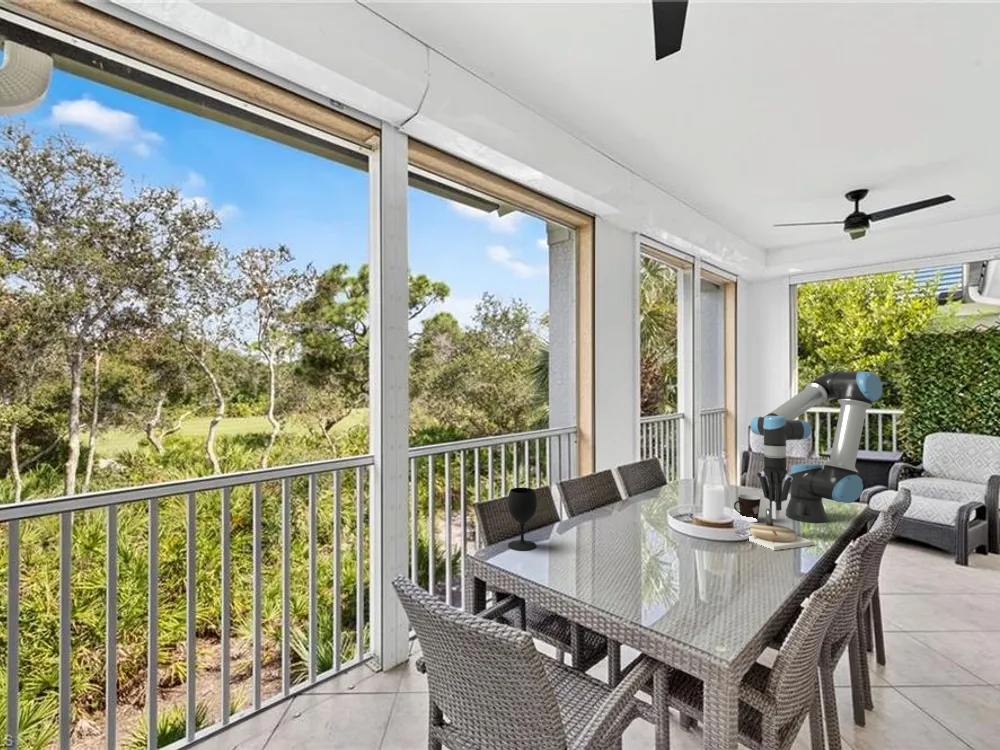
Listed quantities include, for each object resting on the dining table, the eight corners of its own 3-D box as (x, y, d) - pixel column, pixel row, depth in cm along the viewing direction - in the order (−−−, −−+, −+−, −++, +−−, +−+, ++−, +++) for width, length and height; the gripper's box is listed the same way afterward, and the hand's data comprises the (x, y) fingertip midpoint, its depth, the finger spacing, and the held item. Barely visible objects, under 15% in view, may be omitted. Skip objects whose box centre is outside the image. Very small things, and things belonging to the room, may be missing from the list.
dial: (747, 527, 196) (747, 506, 196) (790, 531, 191) (790, 510, 191) (753, 539, 181) (753, 517, 181) (800, 543, 177) (800, 521, 177)
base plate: (771, 530, 197) (771, 526, 197) (812, 545, 180) (812, 540, 180) (734, 535, 192) (734, 530, 192) (774, 550, 175) (774, 545, 175)
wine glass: (542, 545, 179) (542, 490, 179) (523, 553, 172) (524, 495, 172) (520, 539, 186) (520, 485, 186) (501, 546, 179) (501, 490, 179)
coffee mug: (755, 517, 215) (755, 494, 215) (764, 523, 206) (764, 499, 206) (727, 517, 216) (727, 494, 216) (734, 523, 207) (734, 499, 207)
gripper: (797, 457, 188) (798, 520, 187) (763, 453, 198) (764, 513, 198) (787, 459, 184) (788, 523, 183) (753, 455, 194) (753, 516, 194)
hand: (775, 518), depth 191 cm, fingers closed
